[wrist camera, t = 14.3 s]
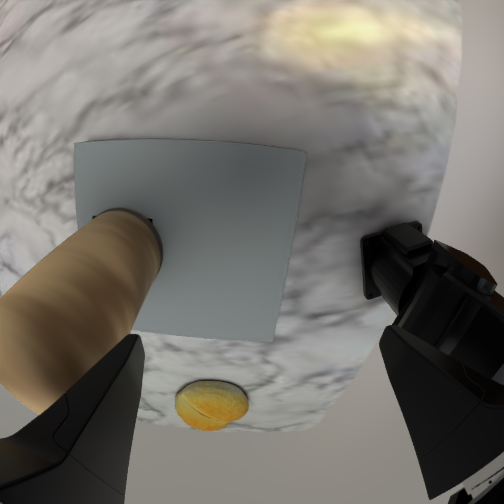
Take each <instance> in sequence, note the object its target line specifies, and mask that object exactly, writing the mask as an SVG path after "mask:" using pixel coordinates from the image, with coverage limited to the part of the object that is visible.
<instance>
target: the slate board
mask: <svg viewBox="0 0 504 504" xmlns="http://www.w3.org/2000/svg"><path fill="white" fill-rule="evenodd" d="M306 158H307V152H304V151H300V150H294V149H287V148H280V147H272V146H264V145H256V144H246V143H236V142H224V141H209V140H190V139H119V140H100V141H87V142H80V143H74V180H75V200H76V213H77V224H78V230H79V229H80V228H82V227H83V226H84V225H86V224H87V223H89V222H90V221H91V220H92V219H93V218H95V217H96V216H97V215H98V214H100V213H102V212H103V211H105V210H108V209H112V208H128V209H132V210H134V211H137V212H138V213H140V214H142V215H143V216H145V217H146V218H150V219H153V225H154V227H155V228H156V230H157V231H158V234H159V236H160V238H161V241H162V245H163V261H162V265H161V268H160V271H159V273H158V275H157V277H156V278H155V279H154V281H153V283H152V286H151V288H150V290H149V292H148V294H147V296H146V298H145V301H144V303H143V305H142V307H141V309H140V312H139V314H138V316H137V318H136V321H135V323H134V325H133V327H132V330H137V331H144V332H152V333H160V334H168V335H177V336H187V337H197V338H210V339H224V340H241V341H267V342H273V337H274V333H275V328H276V324H277V319H278V314H279V309H280V305H281V300H282V295H283V290H284V285H285V280H286V275H287V269H288V264H289V259H290V254H291V248H292V243H293V237H294V232H295V226H296V220H297V214H298V208H299V202H300V196H301V190H302V184H303V177H304V171H305V164H306Z"/></svg>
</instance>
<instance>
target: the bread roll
mask: <svg viewBox="0 0 504 504" xmlns="http://www.w3.org/2000/svg"><path fill="white" fill-rule="evenodd" d="M248 407H249V404H248V400H247V398H246V396H245V395H244V393H243V392H242V391H241V389H240V388H238V387H236V386H235V385H232V384H229V383H225V382H221V381H198V382H194V383H191V384H189V385H188V386H186V387H185V388H184V389H183V390H182V391H181V392H179V393H178V394H177V396H176V398H175V409H176V411H177V413H178V415H179V417H180V418H181V419H182V420H183V421H184V422H185V423H186V424H188V425H190V426H192V427H194V428H196V429H199V430H203V431H215V430H219V429H222V428H224V427H226V426H227V425H228V424H229V423H230V422H231V421H235V420H238V419H240V418H241V417H243V416H244V415H245V414H246V413H247V411H248Z"/></svg>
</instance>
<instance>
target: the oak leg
mask: <svg viewBox="0 0 504 504" xmlns="http://www.w3.org/2000/svg"><path fill="white" fill-rule="evenodd" d="M162 261H163V245H162V241H161V238H160V236H159V234H158V231H157V230H156V228H155V227H154V225H153V224H152V223H151V222H150V221H149V220H148V219H147V218H146V217H145V216H143V215H142V214H140V213H138V212H137V211H134V210H132V209H128V208H112V209H108V210H105V211H103V212H102V213H100V214H98V215H97V216H96V217H95V218H93V219H92V220H91V221H90V222H89V223H87V224H86V225H84V226H83V227H82V228H80V229H79V230H78V231H77V232H75V233H74V234H73V235H71V236H70V237H69V238H67V239H66V240H65V241H64V242H62V243H61V244H60V245H59V246H57V247H56V248H55V249H54V250H53V251H51V252H50V253H49V254H48V255H47V256H45V257H44V258H43V259H42V260H41V261H40V262H38V263H37V264H36V265H35V266H34V267H33V268H32V269H31V270H29V271H28V272H27V273H26V274H25V275H24V276H23V277H22V278H21V279H20V280H19V281H18V282H17V283H15V284H14V285H13V286H12V287H11V288H10V289H9V290H8V291H7V292H6V293H5V294H4V295H3V296H2V297H1V298H0V383H1V384H2V385H3V386H4V387H5V388H6V389H7V390H8V391H9V392H10V393H11V394H12V395H13V396H14V397H15V398H16V399H18V400H19V401H20V402H21V403H23V404H24V405H25V406H27V407H28V408H29V409H31V410H32V411H34V412H35V413H37V414H39V415H40V414H41V413H42V412H44V411H45V410H46V409H47V408H49V407H50V406H51V405H52V404H53V403H54V402H55V401H56V400H57V399H58V398H59V397H61V396H62V395H63V394H64V393H66V391H67V390H68V389H69V388H70V387H71V386H72V385H73V384H74V383H75V382H76V381H78V380H79V379H80V378H81V377H82V376H83V375H84V374H85V373H86V372H87V371H88V370H89V369H90V368H91V367H92V366H94V365H95V364H96V363H97V362H98V361H99V360H100V359H101V358H102V357H103V356H104V355H105V354H107V353H108V352H109V351H110V350H111V349H112V348H113V347H114V346H115V345H116V344H117V343H119V342H120V341H121V340H122V339H123V338H124V337H125V336H126V335H128V334H130V332H131V330H132V327H133V325H134V323H135V321H136V318H137V316H138V314H139V312H140V309H141V307H142V305H143V303H144V301H145V298H146V296H147V294H148V292H149V290H150V288H151V286H152V283H153V281H154V279H155V278H156V277H157V275H158V273H159V271H160V268H161V265H162Z"/></svg>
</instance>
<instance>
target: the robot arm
mask: <svg viewBox="0 0 504 504" xmlns="http://www.w3.org/2000/svg"><path fill="white" fill-rule="evenodd" d="M417 226H418V227H417ZM416 227H417V228H416ZM366 241H368V243H367V244H365V242H366ZM361 254H362V267H363V282H364V296H365V297H366V299H368V300H369V299H373V298H376V297H378V296H381V295H382V296H383V298H384V299H385V300H386V302H387V303H388V304H389V306H390V307H391V308H392V309H393V311H394V312H395V313H396V315H397V317H396V319H395V321H394V323H393V324H392V325H389V326H387V327H386V328H385V329H384V332H383V334H382V337H381V339H380V342H379V347H380V350H381V354H382V357H383V360H384V364H385V367H386V370H387V374H388V377H389V380H390V382H391V385H392V387H393V390H394V393H395V395H396V398H397V400H398V403H399V406H400V408H401V411H402V414H403V417H404V419H405V422H406V425H407V428H408V431H409V433H410V436H411V439H412V442H413V445H414V449H415V451H416V455H417V458H418V460H419V461H418V462H419V465H420V468H421V472H422V475H423V478H424V482H425V486H426V490H427V494H428V497H429V499H430V500H431V499H433V498H435V497H437V496H439V495H441V494H442V493H445V492H446V491H448V490H450V489H451V488H453V487H455V486H456V485H458V484H460V483H461V482H462V483H463V485H464V487H463V488H461V489H460V490H459V491H457V492H456V493H454V494H453V495H451V497H450V499H449V502H448V504H504V297H502V296H501V295H500V294H498V293H497V292H496V291H495V288H496V286H497V283H496V281H495V280H494V278H493V277H492V275H491V274H490V272H489V271H488V270H487V268H486V267H485V266H484V265H482V264H481V263H479V262H478V261H476V260H475V259H474V258H472V257H470V256H469V255H468V254H466V253H464V252H462V251H460V250H457V249H455V248H453V247H451V246H448V245H446V244H444V243H441V242H439V241H437V240H434V243H433V241H432V240H431V239H430V238H428V237H427V236H425V235H424V234H422V224H421V223H419V222H418V221H415V222H412V223H408V224H407V223H403V224H400V225H396V226H393V227H389V228H386V229H384V230H383V231H382V232H378V233H375V234H371V235H368V236H365V237H363V238H362V239H361ZM370 293H371V294H370ZM368 294H370V295H368ZM144 360H145V352H144V348H143V344H142V341H141V337H140V336H139V335H138V334H128V335H126V336H125V337H124V338H123V339H122V340H121V341H120V342H119V343H117V344H116V345H115V346H114V347H113V348H112V349H111V350H110V351H109V352H108V353H107V354H105V355H104V356H103V357H102V358H101V359H100V360H99V361H98V362H97V363H96V364H95V365H94V366H92V367H91V368H90V369H89V370H88V371H87V372H86V373H85V374H84V375H83V376H82V377H81V378H80V379H79V380H78V381H76V382H75V383H74V384H73V385H72V386H71V387H70V388H69V389H68V390H67V391H66V393H64V394H63V395H62V396H61V397H59V398H58V399H57V400H56V401H55V402H54V403H53V404H52V405H51V406H50V407H49V408H47V409H46V410H45V411H44V412H42V413H41V414H40V415H39V416H37V417H36V418H35V419H34V420H32V421H31V422H30V423H28V424H27V425H26V426H25V427H23V428H22V429H20V430H19V431H18V432H16V433H15V434H13V435H11V436H9V437H6V438H1V439H0V504H124V499H125V489H126V480H127V473H128V466H129V458H130V452H131V446H132V440H133V434H134V428H135V423H136V418H137V412H138V407H139V402H140V397H141V389H142V379H143V369H144Z"/></svg>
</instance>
